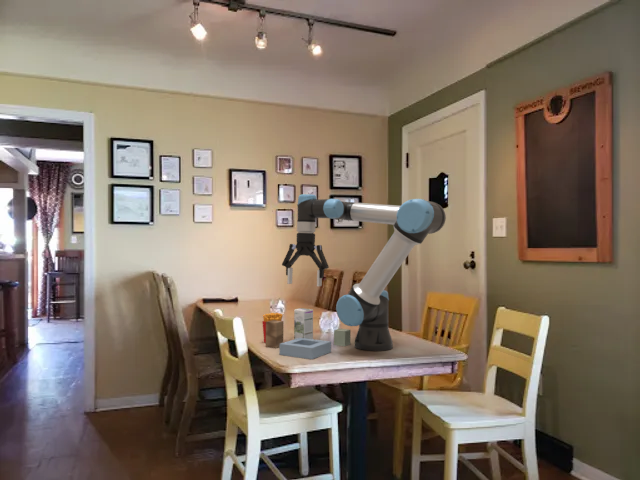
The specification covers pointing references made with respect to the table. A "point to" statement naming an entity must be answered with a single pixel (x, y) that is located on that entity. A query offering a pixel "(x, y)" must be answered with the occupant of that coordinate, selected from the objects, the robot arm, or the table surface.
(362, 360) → the table surface
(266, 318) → the french fries
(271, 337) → the walnut peg
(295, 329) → the syrup box
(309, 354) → the hole block
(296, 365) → the table surface
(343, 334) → the greygreen peg
